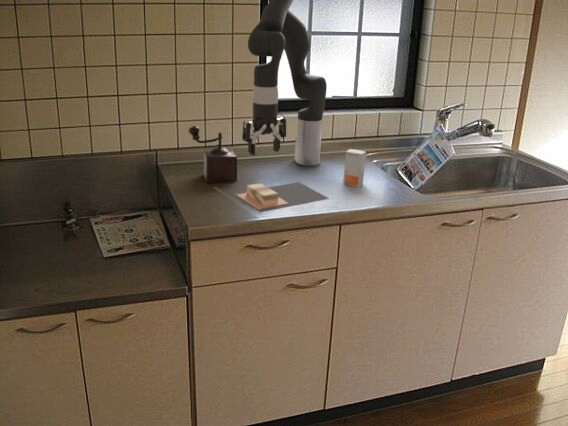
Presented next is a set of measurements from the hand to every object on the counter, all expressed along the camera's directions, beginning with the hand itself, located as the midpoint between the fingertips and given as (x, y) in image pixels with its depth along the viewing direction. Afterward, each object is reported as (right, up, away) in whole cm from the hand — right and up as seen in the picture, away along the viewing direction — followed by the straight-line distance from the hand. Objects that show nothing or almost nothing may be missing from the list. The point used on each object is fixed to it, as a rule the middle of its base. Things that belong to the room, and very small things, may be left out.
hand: (264, 152), depth 186 cm
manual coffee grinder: (-19, -7, +25) cm, 32 cm away
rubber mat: (+5, -14, +10) cm, 17 cm away
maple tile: (-1, -14, +6) cm, 15 cm away
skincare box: (+30, -9, +25) cm, 40 cm away
